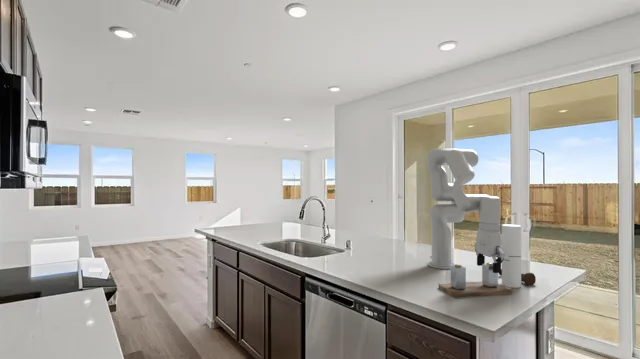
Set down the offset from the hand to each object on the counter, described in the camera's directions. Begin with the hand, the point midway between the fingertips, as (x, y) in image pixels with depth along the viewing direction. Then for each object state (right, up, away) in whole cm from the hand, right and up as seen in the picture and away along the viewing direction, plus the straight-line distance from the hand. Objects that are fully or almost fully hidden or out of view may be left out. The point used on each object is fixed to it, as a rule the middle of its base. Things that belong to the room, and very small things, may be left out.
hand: (488, 268), depth 136 cm
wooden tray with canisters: (-7, -8, -2) cm, 11 cm away
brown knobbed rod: (+18, -9, +12) cm, 23 cm away
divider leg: (0, -6, -1) cm, 6 cm away
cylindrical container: (+12, -8, +5) cm, 16 cm away
